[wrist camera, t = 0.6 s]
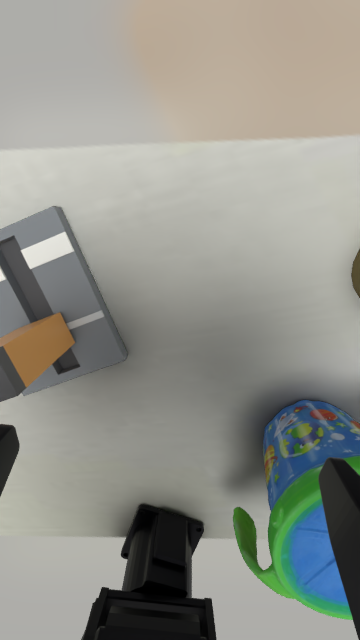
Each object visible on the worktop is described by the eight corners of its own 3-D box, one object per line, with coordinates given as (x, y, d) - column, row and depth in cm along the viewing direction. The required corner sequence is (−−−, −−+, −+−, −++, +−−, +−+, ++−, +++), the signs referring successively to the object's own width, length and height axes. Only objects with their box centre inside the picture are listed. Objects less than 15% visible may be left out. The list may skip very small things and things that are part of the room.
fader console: (128, 354, 25) (124, 361, 24) (31, 388, 26) (22, 397, 25) (60, 207, 22) (52, 205, 21) (-45, 253, 23) (-59, 254, 22)
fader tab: (81, 337, 24) (18, 395, 15) (42, 351, 25) (-41, 416, 16) (66, 307, 24) (-8, 351, 15) (27, 323, 24) (-68, 374, 15)
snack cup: (258, 516, 29) (292, 662, 19) (194, 435, 27) (196, 552, 17) (418, 437, 26) (556, 560, 16) (361, 339, 24) (480, 412, 14)
